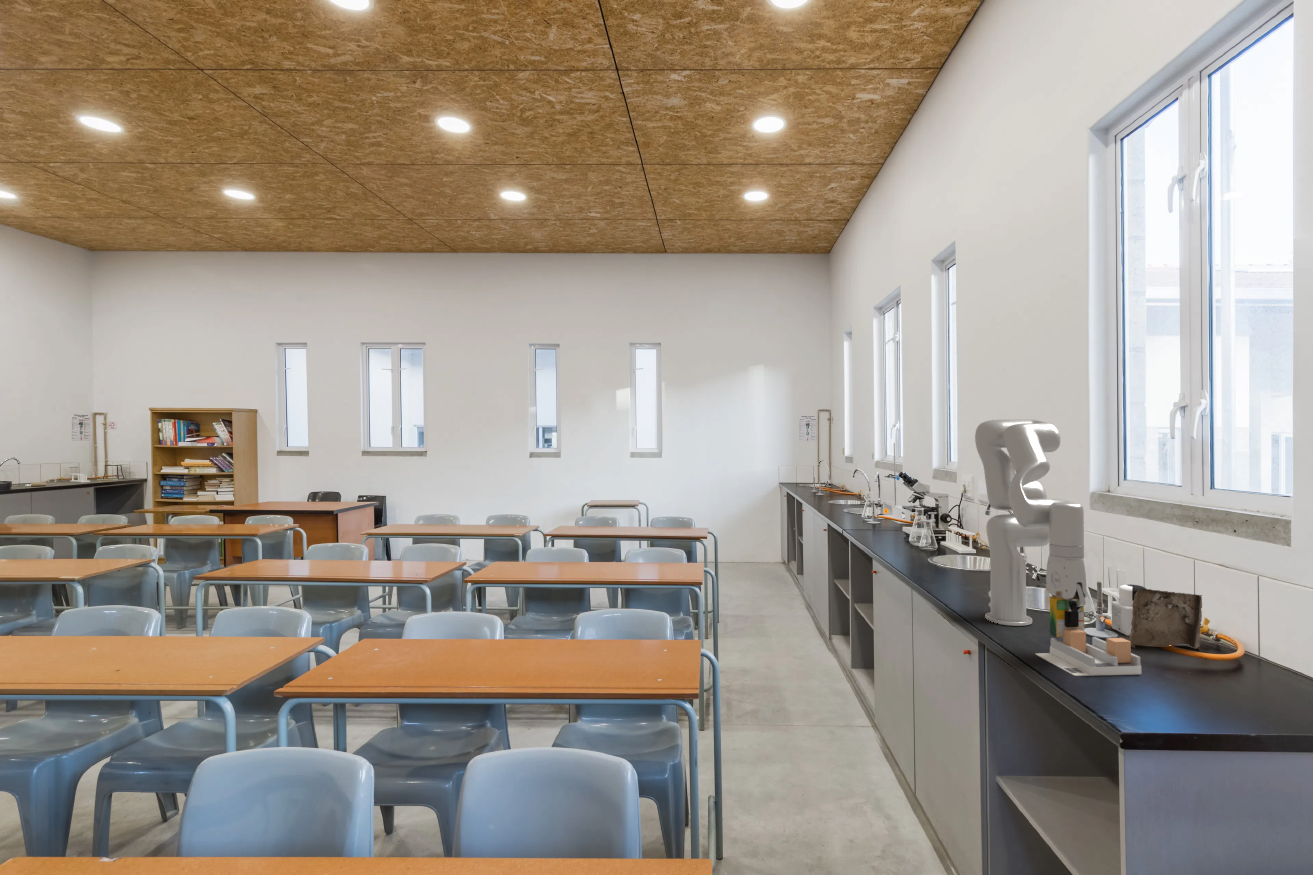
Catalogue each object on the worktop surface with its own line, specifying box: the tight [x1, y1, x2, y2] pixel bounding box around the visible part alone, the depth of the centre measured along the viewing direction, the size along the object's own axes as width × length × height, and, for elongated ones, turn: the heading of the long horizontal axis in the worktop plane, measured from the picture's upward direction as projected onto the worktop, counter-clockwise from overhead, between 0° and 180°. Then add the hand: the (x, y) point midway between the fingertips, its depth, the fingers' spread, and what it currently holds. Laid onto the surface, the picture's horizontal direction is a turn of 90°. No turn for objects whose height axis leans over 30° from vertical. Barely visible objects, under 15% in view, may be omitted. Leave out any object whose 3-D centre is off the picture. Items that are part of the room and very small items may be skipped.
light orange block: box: [1105, 637, 1132, 663], centre depth 167 cm, size 3×4×5 cm
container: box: [1111, 583, 1147, 637], centre depth 198 cm, size 8×8×13 cm
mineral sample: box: [1127, 588, 1203, 649], centre depth 184 cm, size 17×4×15 cm, turn 81°
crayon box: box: [1049, 591, 1085, 639], centre depth 178 cm, size 7×3×12 cm, turn 92°
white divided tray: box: [1035, 636, 1142, 677], centre depth 172 cm, size 16×16×4 cm
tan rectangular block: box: [1062, 629, 1087, 652], centre depth 175 cm, size 3×4×5 cm
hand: (1067, 624), depth 178 cm, fingers closed on crayon box, 3 cm apart
